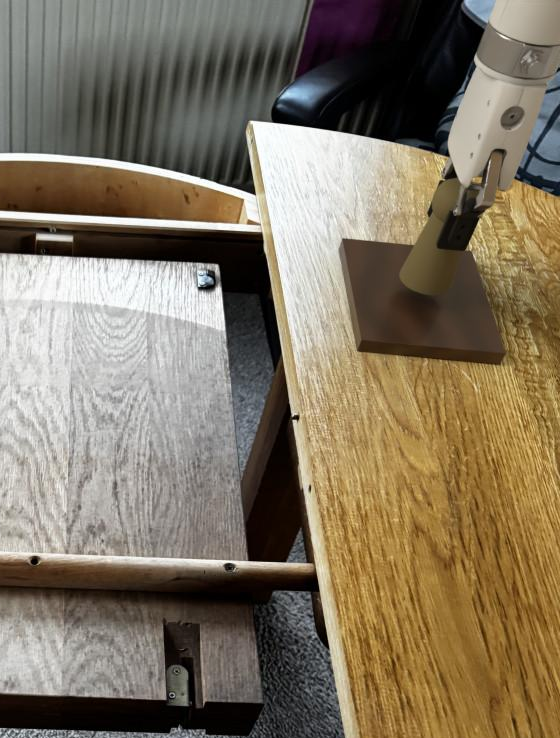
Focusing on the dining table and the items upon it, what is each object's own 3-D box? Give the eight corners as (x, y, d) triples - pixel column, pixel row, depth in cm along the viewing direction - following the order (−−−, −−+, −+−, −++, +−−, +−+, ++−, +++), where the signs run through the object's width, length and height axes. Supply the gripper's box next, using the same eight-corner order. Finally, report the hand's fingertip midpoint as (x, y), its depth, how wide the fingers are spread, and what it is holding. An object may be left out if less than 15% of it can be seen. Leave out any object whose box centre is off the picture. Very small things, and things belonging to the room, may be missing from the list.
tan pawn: (394, 286, 105) (431, 191, 96) (404, 258, 108) (440, 164, 99) (448, 301, 104) (490, 206, 95) (455, 272, 107) (496, 179, 98)
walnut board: (467, 261, 114) (472, 250, 113) (500, 364, 103) (506, 353, 101) (338, 249, 114) (342, 237, 113) (357, 351, 102) (361, 339, 101)
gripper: (583, 97, 81) (495, 282, 96) (539, 16, 91) (465, 195, 106) (499, 88, 81) (423, 275, 96) (464, 8, 91) (400, 188, 106)
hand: (446, 231), depth 101 cm, fingers closed on tan pawn, 5 cm apart
